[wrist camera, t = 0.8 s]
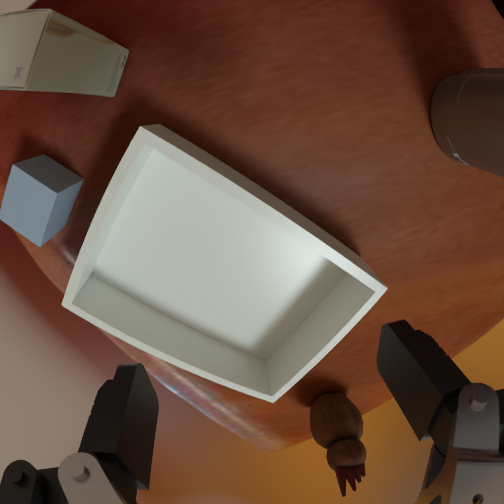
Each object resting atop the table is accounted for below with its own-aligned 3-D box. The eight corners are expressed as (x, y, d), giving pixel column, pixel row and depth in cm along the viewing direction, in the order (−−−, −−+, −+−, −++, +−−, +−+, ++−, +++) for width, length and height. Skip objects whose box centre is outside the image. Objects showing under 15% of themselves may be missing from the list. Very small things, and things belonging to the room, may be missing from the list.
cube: (44, 154, 22) (12, 164, 17) (84, 178, 23) (57, 193, 18) (28, 200, 23) (-2, 218, 18) (65, 225, 25) (39, 247, 20)
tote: (159, 124, 22) (140, 126, 17) (361, 257, 28) (387, 288, 23) (85, 271, 26) (61, 305, 21) (266, 363, 33) (273, 402, 28)
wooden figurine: (296, 406, 37) (319, 503, 24) (325, 381, 35) (359, 483, 22) (330, 415, 39) (357, 502, 26) (358, 393, 37) (394, 482, 24)
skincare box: (131, 49, 19) (59, 5, 8) (115, 99, 20) (30, 92, 9) (67, 43, 18) (-23, 16, 6) (53, 90, 19) (-44, 89, 8)
